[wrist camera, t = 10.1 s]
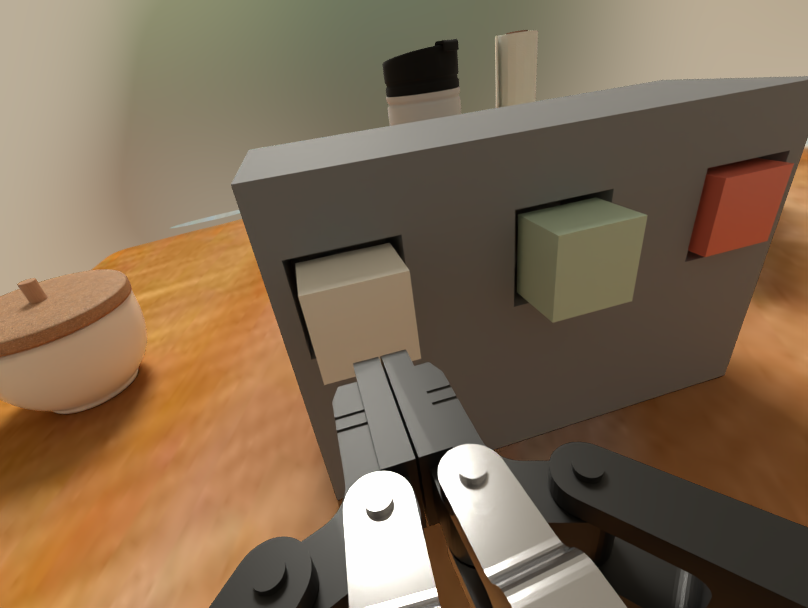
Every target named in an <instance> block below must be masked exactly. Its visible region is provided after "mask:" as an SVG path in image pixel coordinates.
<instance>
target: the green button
mask: <svg viewBox="0 0 808 608" xmlns="http://www.w3.org/2000/svg"><path fill="white" fill-rule="evenodd" d="M647 216H648V215H646V214H643V213H640V212H637V211H634V210H631V209H628V208H625V207H623V206H620V205H617V204H614V203H611V202H608V201H605V200H602V199H599V198H596V197H595V198H591V199H586V200H582V201H577V202H573V203H568V204H563V205H559V206H554V207H550V208H545V209H541V210H536V211H531V212H527V213H522V214H518V244H517V293H518V294H520V295H521V296H522V297H523V298H524V299H525V300H527V301H528V302H529V303H530V304H531V305H532V306H534V307H535V308H536V309H537V310H538V311H539V312H541V313H542V314H543V315H544V316H545V317H546V318H548V319H549V320H550V321H551V322H552V323H554V322H557V321H561V320H565V319H568V318H572V317H576V316H579V315H583V314H587V313H590V312H594V311H598V310H601V309H605V308H609V307H612V306H616V305H620V304H623V303H627V302H631V301H632V299H633V293H634V288H635V282H636V277H637V271H638V266H639V260H640V255H641V249H642V244H643V238H644V233H645V227H646V221H647Z"/></svg>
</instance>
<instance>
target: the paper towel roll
mask: <svg viewBox="0 0 808 608" xmlns="http://www.w3.org/2000/svg"><path fill="white" fill-rule="evenodd" d="M537 43H538V30H533V31H528V30H522V31H515V32H510V33H507V34H506V35H501V36H496V37H495V61H496V62H495V64H496V108H500V107H506V106H512V105H518V104H524V103H530V102H536V72H537Z"/></svg>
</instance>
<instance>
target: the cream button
mask: <svg viewBox="0 0 808 608" xmlns="http://www.w3.org/2000/svg"><path fill="white" fill-rule="evenodd" d="M295 265H296V277H297V288H298V298H299V301H300V304H301V308H302V311H303V315H304V318H305V321H306V325H307V328H308V331H309V335H310V338H311V342H312V345H313V348H314V352H315V355H316V359H317V362H318V365H319V369H320V372H321V376H322V379H323V382H324V385H326V384H330V383H334V382H337V381H341V380H345V379H348V378H352V377H356V375H355V371H354V367H353V363H356V362H360V361H363V360H367V359H371V358H375V357H379V359H380V356H382V355H386V354H389V353H393V352H397V351H401V350H405V349H406V350H407V352H408V354H409V356H410V358H411V360H412V361H414V360H418V359H421V354H420V346H419V338H418V331H417V323H416V316H415V308H414V300H413V293H412V285H411V278H410V270H409V269H408V268H407V266H406V265H405V263H404V262H403V261H402V259H401V258H400V256H399V255H398V254H397V252H396V251H395V249H394V248H393V247H392V245H391V244H390V243H385V244H381V245H376V246H372V247H367V248H362V249H358V250H353V251H349V252H344V253H340V254H335V255H331V256H326V257H321V258H317V259H312V260H308V261H303V262H299V263H295ZM380 362H381V360H380Z"/></svg>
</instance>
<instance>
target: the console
mask: <svg viewBox="0 0 808 608" xmlns="http://www.w3.org/2000/svg"><path fill="white" fill-rule="evenodd" d="M807 138H808V77H807V76H804V77H764V78H724V79H684V80H661V81H654V82H648V83H643V84H637V85H631V86H624V87H618V88H613V89H607V90H601V91H595V92H589V93H583V94H577V95H572V96H565V97H559V98H553V99H547V100H542V101H536V102H530V103H524V104H518V105H512V106H506V107H500V108H494V109H488V110H482V111H477V112H471V113H464V114H459V115H453V116H447V117H441V118H435V119H429V120H423V121H417V122H411V123H405V124H399V125H393V126H388V127H382V128H376V129H370V130H364V131H358V132H352V133H346V134H340V135H334V136H328V137H322V138H316V139H310V140H305V141H299V142H293V143H287V144H281V145H275V146H270V147H263V148H257V149H251V150H249V151H248V153H247V155H246V157H245V159H244V161H243V163H242V164H241V166H240V168H239V170H238V172H237V174H236V176H235V178H234V180H233V181H232V183H231V186H232V189H233V192H234V195H235V198H236V201H237V204H238V207H239V210H240V213H241V216H242V219H243V222H244V225H245V228H246V231H247V234H248V237H249V240H250V243H251V246H252V249H253V252H254V255H255V258H256V261H257V263H258V266H259V269H260V272H261V275H262V278H263V281H264V284H265V287H266V290H267V293H268V296H269V299H270V302H271V305H272V308H273V311H274V314H275V317H276V320H277V323H278V326H279V329H280V332H281V335H282V338H283V341H284V344H285V347H286V350H287V353H288V355H289V358H290V361H291V364H292V367H293V370H294V373H295V376H296V379H297V382H298V385H299V388H300V391H301V394H302V397H303V400H304V403H305V406H306V409H307V412H308V415H309V418H310V421H311V424H312V427H313V430H314V433H315V436H316V439H317V442H318V445H319V447H320V450H321V453H322V456H323V459H324V462H325V465H326V468H327V471H328V474H329V477H330V480H331V483H332V486H333V489H334V492H335V495H336V498H337V500H340V499H343V498H344V495H345V479H344V472H343V466H342V460H341V454H340V448H339V441H338V435H337V429H336V423H335V417H334V410H333V404H332V402H333V399H334V396H335V393H336V391H337V388H338V387H340V386H343V385H347V384H351V383H354V382H357V380H356V377H352V378H348V379H345V380H341V381H337V382H334V383H330V384H326V385H324V382H323V379H322V376H321V372H320V369H319V365H318V362H317V359H316V355H315V352H314V348H313V345H312V342H311V338H310V335H309V331H308V328H307V325H306V321H305V318H304V315H303V311H302V308H301V304H300V301H299V298H298V288H297V277H296V265H295V263H299V262H303V261H308V260H312V259H317V258H321V257H326V256H331V255H335V254H340V253H344V252H349V251H353V250H358V249H362V248H367V247H372V246H376V245H381V244H385V243H390V244H391V245H392V247H393V248H394V249H395V251H396V252H397V254H398V255H399V256H400V258H401V259H402V261H403V262H404V263H405V265H406V266H407V268H408V269H409V270H410V278H411V285H412V293H413V300H414V308H415V316H416V323H417V331H418V338H419V346H420V354H421V359H418V360H414V361H412V363H413V365H414V366H416V365H420V364H423V363H427V362H430V363H431V364H432V365H434V366H435V367H437V368H438V369H440V370H441V371H443V373H444V375H445V377H446V378H447V380H448V382H449V384H450V387H452V389H453V391H454V393H455V394H456V397H457V398H458V400H459V401H460V403H461V405H462V407H463V408H464V410H465V412H466V414H467V415H468V417H469V419H470V421H471V422H472V424H473V426H474V428H475V429H476V431H477V433H478V435H479V436H480V438H481V440H482V441H483V443H484V444H485V445H486V446H487V447H488V448H490V449H492V450H494V449H497V448H500V447H503V446H506V445H509V444H513V443H516V442H519V441H522V440H525V439H528V438H531V437H534V436H537V435H540V434H543V433H547V432H550V431H553V430H556V429H559V428H562V427H565V426H568V425H571V424H574V423H577V422H581V421H584V420H587V419H590V418H593V417H596V416H599V415H602V414H605V413H608V412H611V411H615V410H618V409H621V408H624V407H627V406H630V405H633V404H636V403H639V402H642V401H645V400H649V399H652V398H655V397H658V396H661V395H664V394H667V393H670V392H673V391H676V390H679V389H683V388H686V387H689V386H692V385H695V384H698V383H701V382H704V381H707V380H710V379H713V378H717V377H720V376H723V375H725V372H726V369H727V367H728V364H729V361H730V358H731V355H732V352H733V349H734V347H735V344H736V341H737V338H738V335H739V332H740V329H741V327H742V324H743V321H744V318H745V315H746V312H747V309H748V307H749V304H750V301H751V298H752V295H753V292H754V289H755V287H756V284H757V281H758V278H759V275H760V272H761V269H762V267H763V264H764V261H765V258H766V255H767V252H768V249H769V247H770V244H771V241H772V238H773V235H774V232H775V229H776V227H777V224H778V221H779V218H780V215H781V212H782V209H783V207H784V204H785V201H786V198H787V195H788V192H789V189H790V186H791V184H792V181H793V178H794V175H795V172H796V169H797V166H798V164H799V161H800V158H801V155H802V152H803V149H804V146H805V144H806V141H807ZM752 158H761V159H768V160H775V161H782V162H789V163H794V165H793V168H792V171H791V174H790V177H789V180H788V183H787V186H786V189H785V191H784V194H783V197H782V200H781V203H780V206H779V209H778V212H777V215H776V218H775V220H774V223H773V226H772V229H771V232H770V235H769V238H768V241H765V242H761V243H757V244H754V245H750V246H746V247H742V248H738V249H734V250H731V251H727V252H723V253H719V254H715V255H711V256H708V257H703V256H701V255H698V254H696V253H693V252H691V251H688V247H689V243H690V239H691V235H692V231H693V227H694V223H695V219H696V214H697V210H698V206H699V202H700V198H701V194H702V190H703V186H704V182H705V177H706V173H707V169H708V168H711V167H715V166H720V165H725V164H729V163H734V162H738V161H743V160H748V159H752ZM595 197H596V198H599V199H602V200H605V201H608V202H611V203H614V204H617V205H620V206H623V207H625V208H628V209H631V210H634V211H637V212H640V213H643V214H646V215H648V216H647V221H646V227H645V233H644V238H643V244H642V249H641V255H640V260H639V266H638V271H637V277H636V282H635V288H634V293H633V299H632V301H631V302H627V303H623V304H620V305H616V306H612V307H609V308H605V309H601V310H598V311H594V312H590V313H587V314H583V315H579V316H576V317H572V318H568V319H565V320H561V321H557V322H554V323H552V322H551V321H550V320H549V319H548V318H546V317H545V316H544V315H543V314H542V313H541V312H539V311H538V310H537V309H536V308H535V307H534V306H532V305H531V304H530V303H529V302H528V301H527V300H525V299H524V298H523V297H522V296H521V295H520V294H518V293H517V244H518V214H522V213H527V212H531V211H536V210H541V209H545V208H550V207H554V206H559V205H563V204H568V203H573V202H577V201H582V200H586V199H591V198H595Z"/></svg>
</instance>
